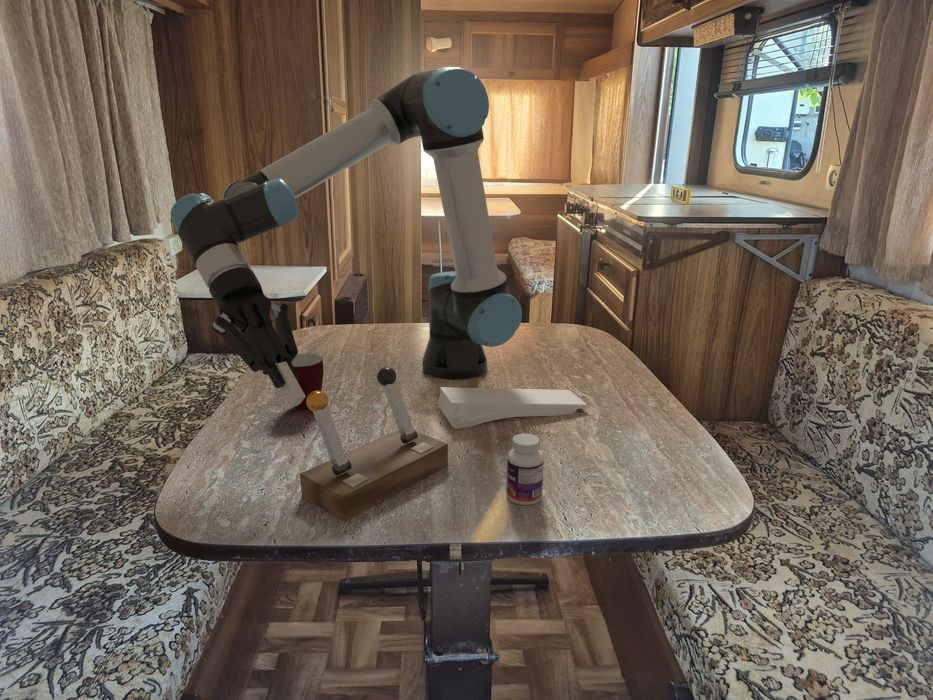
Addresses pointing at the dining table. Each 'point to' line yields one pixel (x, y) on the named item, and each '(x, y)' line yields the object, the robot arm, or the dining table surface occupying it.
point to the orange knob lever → (328, 431)
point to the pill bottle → (525, 470)
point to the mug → (308, 375)
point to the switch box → (373, 473)
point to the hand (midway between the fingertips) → (298, 401)
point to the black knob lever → (396, 404)
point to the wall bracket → (503, 404)
